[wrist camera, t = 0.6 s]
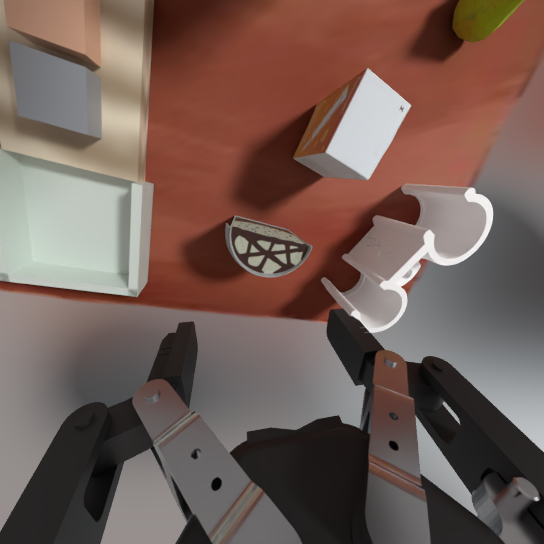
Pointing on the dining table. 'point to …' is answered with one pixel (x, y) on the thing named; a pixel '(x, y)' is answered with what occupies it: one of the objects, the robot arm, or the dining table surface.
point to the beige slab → (114, 97)
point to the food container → (265, 247)
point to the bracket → (411, 250)
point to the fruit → (481, 17)
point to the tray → (72, 227)
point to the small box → (352, 128)
